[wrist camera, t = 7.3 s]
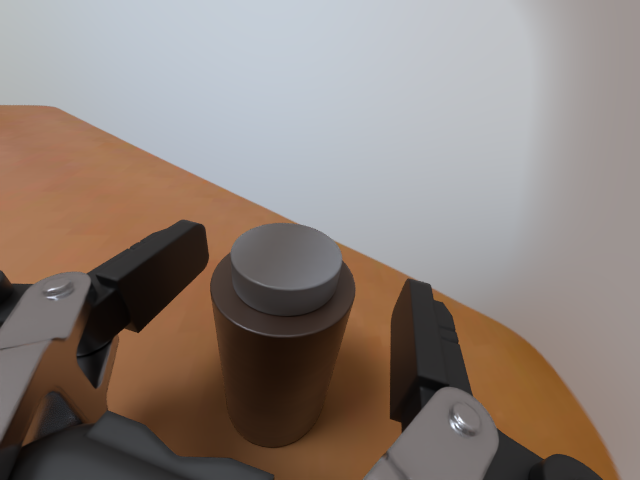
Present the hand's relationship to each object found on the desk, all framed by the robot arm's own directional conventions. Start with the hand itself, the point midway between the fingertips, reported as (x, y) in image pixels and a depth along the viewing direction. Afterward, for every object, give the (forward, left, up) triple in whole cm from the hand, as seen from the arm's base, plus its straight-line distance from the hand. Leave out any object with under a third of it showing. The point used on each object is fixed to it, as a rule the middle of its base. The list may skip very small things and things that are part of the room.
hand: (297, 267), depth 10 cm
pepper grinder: (0, +2, -6) cm, 6 cm away
